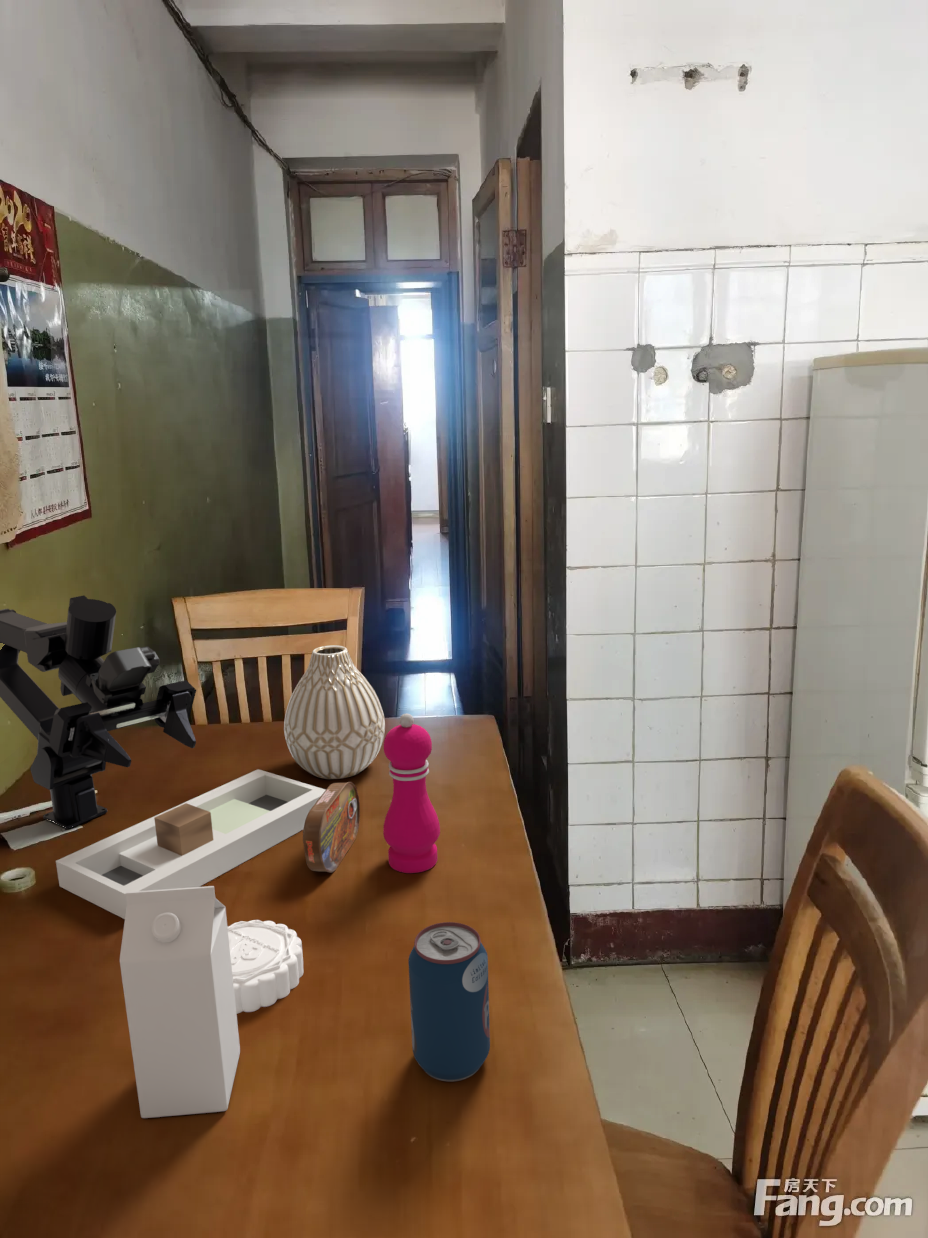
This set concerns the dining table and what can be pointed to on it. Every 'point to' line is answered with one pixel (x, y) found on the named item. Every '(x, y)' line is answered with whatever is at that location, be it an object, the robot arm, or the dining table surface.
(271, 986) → the mooncake
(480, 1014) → the soda can
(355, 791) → the tin
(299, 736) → the vase
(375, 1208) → the dining table surface
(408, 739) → the pepper mill
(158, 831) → the walnut block
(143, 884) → the box
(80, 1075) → the dining table surface
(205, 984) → the milk carton
